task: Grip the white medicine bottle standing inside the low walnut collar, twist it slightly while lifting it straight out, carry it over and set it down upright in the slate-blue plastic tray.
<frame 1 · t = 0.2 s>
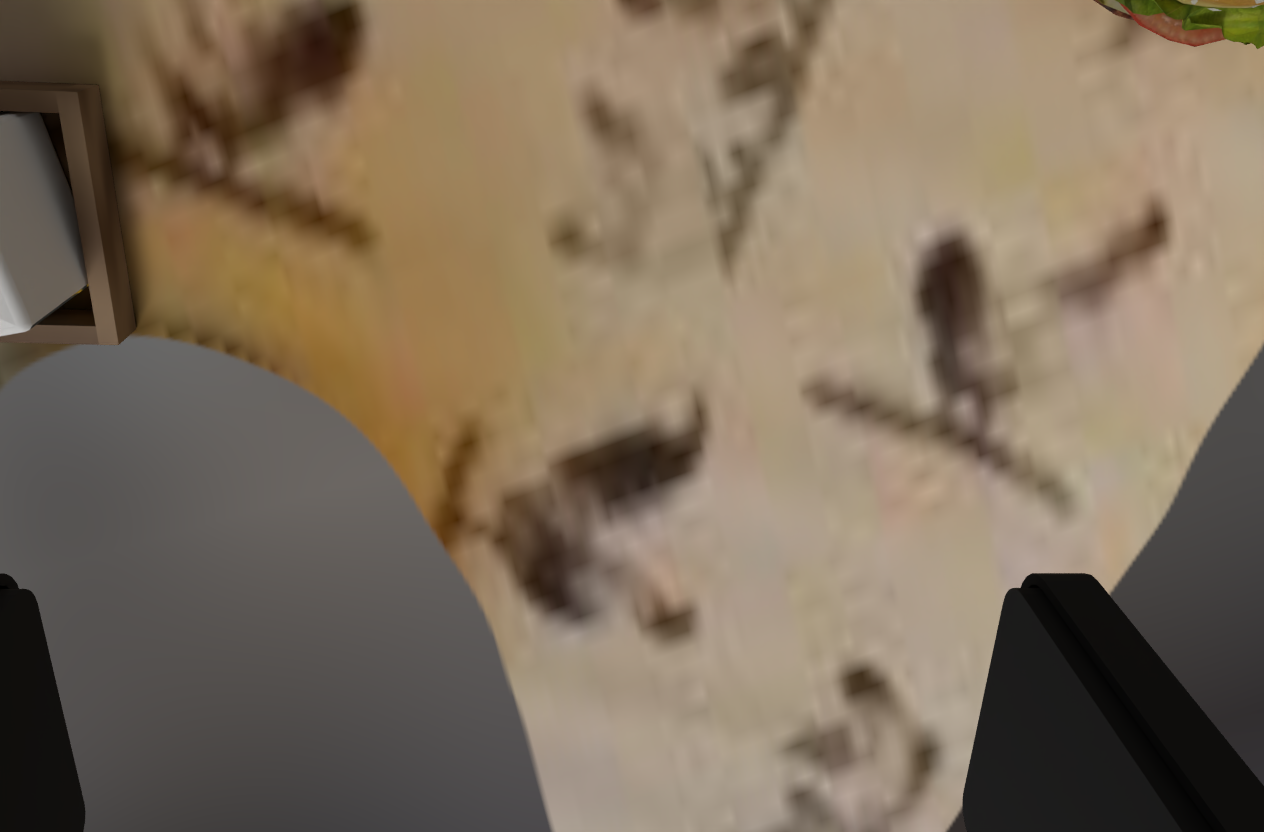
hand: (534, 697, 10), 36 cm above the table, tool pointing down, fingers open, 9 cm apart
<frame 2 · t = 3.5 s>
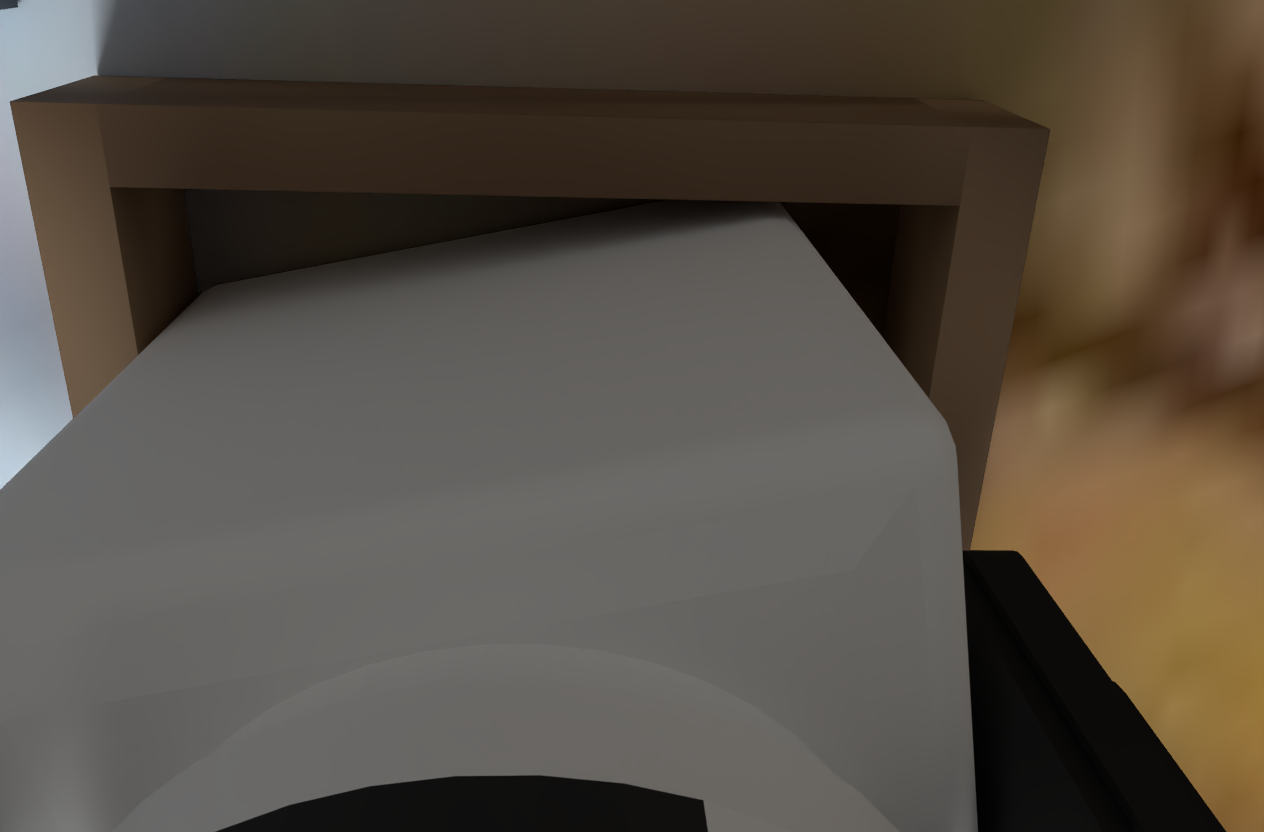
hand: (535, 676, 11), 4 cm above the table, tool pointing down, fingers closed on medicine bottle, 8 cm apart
medicine bottle: (543, 475, 15), resting in collar, touching gripper
collar: (548, 479, 14), on the table
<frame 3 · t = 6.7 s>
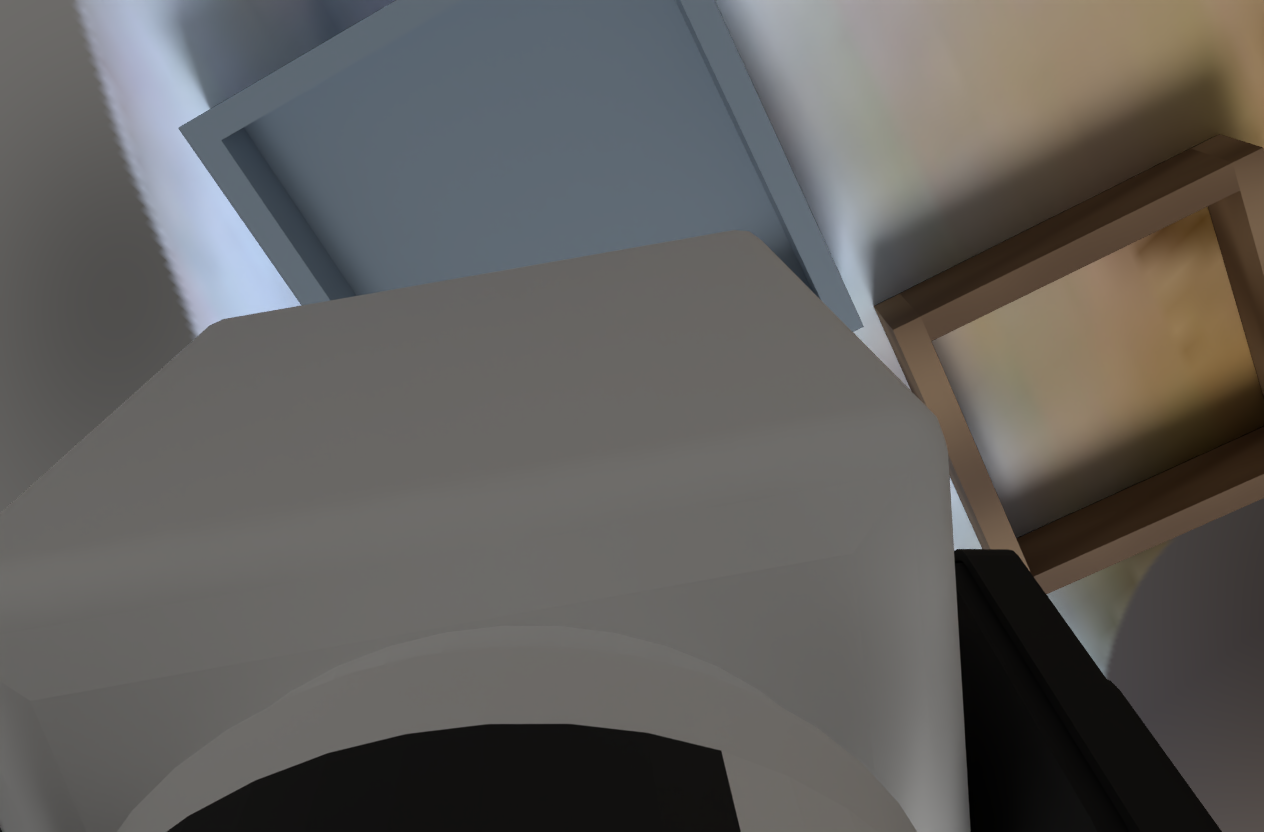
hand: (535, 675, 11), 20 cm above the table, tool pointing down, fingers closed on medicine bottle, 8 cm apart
tray: (542, 209, 29), on the table
medicine bottle: (535, 512, 15), point 15 cm above the table, touching gripper
collar: (1096, 371, 32), on the table
when the fingers open (5 cm above the table, at t = 10.1 s): medicine bottle stays where it is, resting on tray.
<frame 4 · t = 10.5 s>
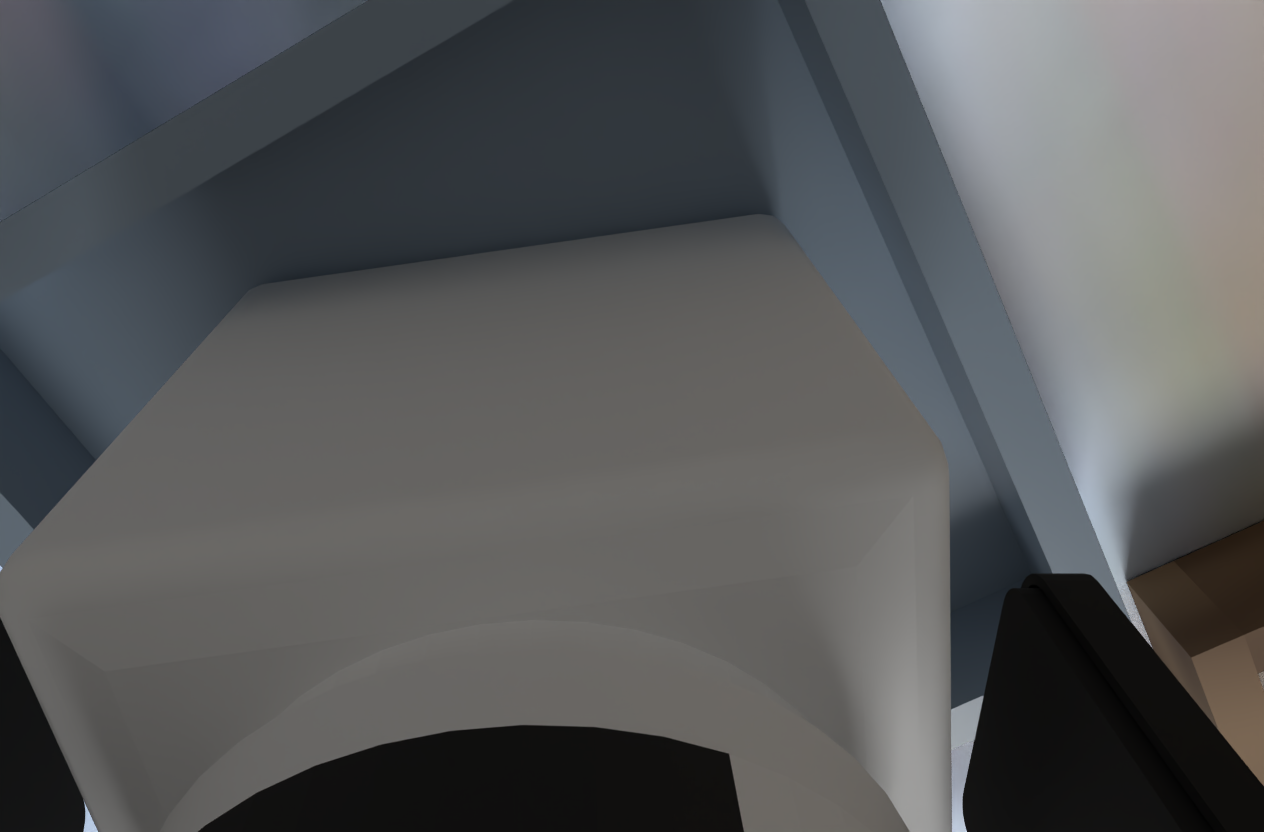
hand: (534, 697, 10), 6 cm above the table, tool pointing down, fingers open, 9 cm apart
tray: (547, 437, 16), on the table
medicine bottle: (555, 473, 16), resting on tray
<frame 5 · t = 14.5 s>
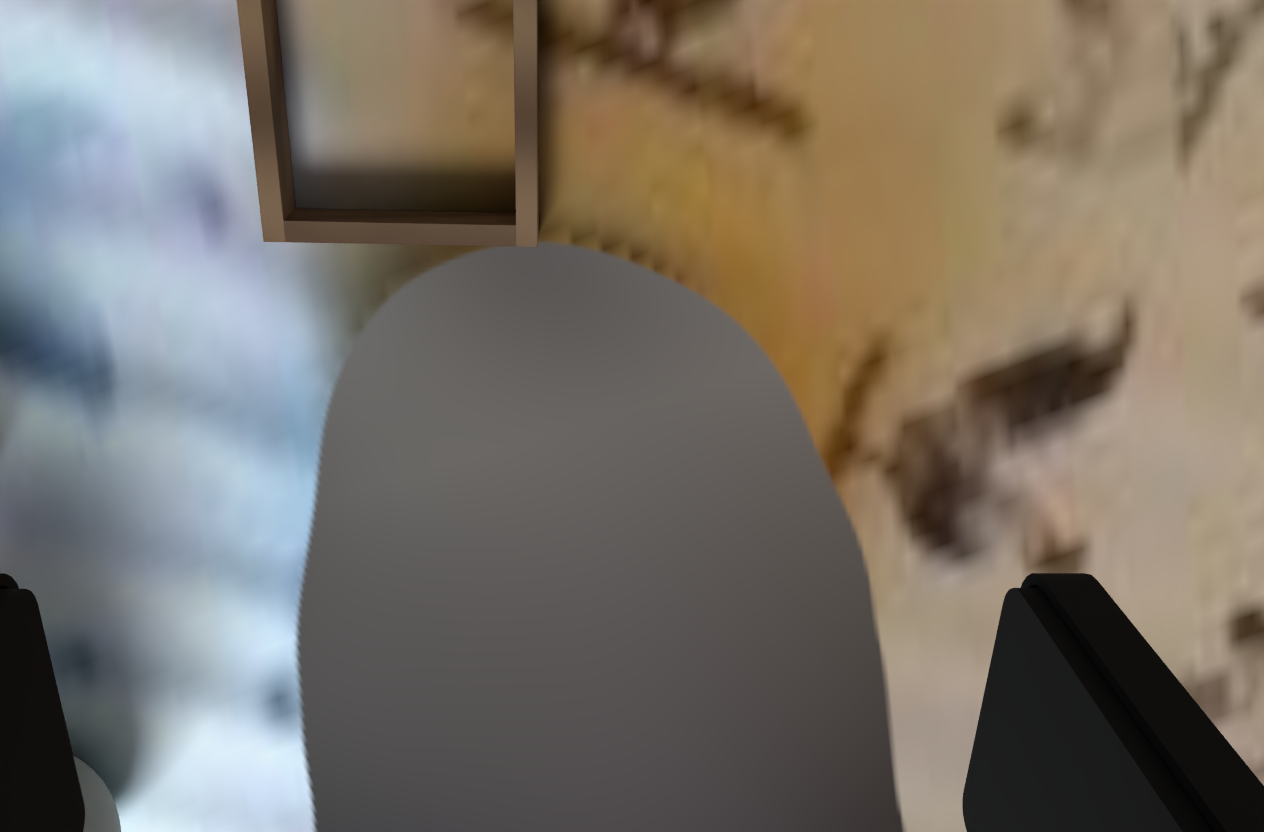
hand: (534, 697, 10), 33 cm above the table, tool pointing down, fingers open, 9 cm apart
glass bottle: (49, 779, 53), on the table
collar: (401, 96, 40), on the table
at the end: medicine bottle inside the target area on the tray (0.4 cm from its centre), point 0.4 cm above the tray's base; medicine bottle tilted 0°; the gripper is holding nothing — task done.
